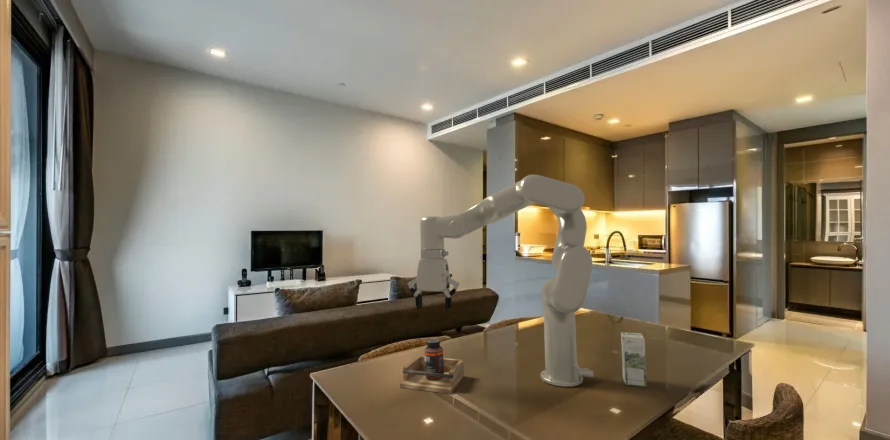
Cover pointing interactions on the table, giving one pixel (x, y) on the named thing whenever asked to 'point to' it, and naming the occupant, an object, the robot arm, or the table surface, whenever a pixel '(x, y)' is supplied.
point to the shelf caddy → (418, 381)
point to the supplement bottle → (434, 358)
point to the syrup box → (633, 359)
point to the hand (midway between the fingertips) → (433, 309)
